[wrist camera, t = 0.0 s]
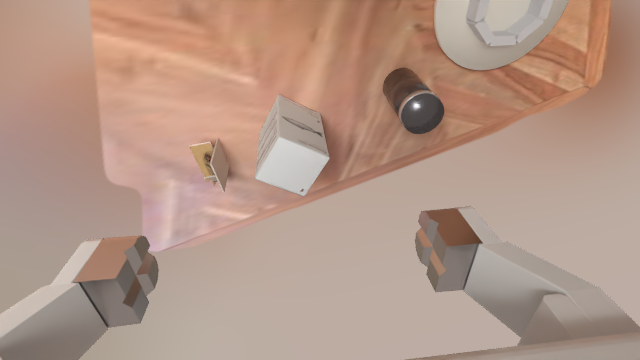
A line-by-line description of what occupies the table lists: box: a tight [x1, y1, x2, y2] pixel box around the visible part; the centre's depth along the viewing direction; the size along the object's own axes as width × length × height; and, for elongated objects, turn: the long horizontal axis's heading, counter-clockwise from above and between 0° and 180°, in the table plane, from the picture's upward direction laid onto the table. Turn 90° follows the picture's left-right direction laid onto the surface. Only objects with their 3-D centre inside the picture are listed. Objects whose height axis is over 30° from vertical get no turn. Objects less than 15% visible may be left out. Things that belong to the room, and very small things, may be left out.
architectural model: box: [190, 138, 229, 193], centre depth 50 cm, size 3×7×7 cm, turn 9°
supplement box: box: [255, 94, 330, 196], centre depth 46 cm, size 7×7×13 cm
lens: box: [383, 68, 444, 134], centre depth 45 cm, size 5×5×10 cm
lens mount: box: [433, 0, 569, 70], centre depth 41 cm, size 18×18×4 cm
